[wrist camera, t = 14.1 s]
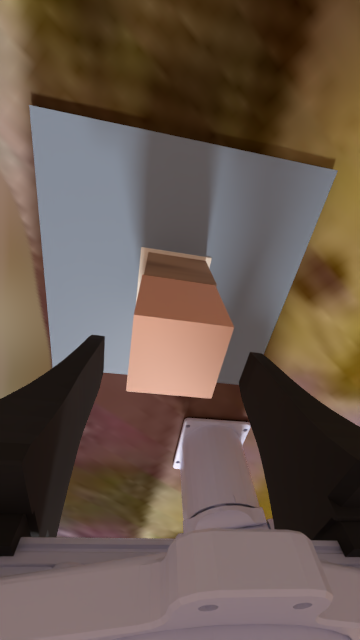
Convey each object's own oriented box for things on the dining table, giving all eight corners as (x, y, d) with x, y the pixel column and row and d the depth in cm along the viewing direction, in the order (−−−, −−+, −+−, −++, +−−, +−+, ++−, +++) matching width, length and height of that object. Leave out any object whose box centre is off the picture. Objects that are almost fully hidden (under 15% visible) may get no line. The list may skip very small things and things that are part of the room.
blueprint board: (249, 381, 28) (251, 386, 27) (55, 363, 25) (52, 368, 25) (332, 170, 18) (338, 170, 18) (33, 107, 16) (28, 104, 15)
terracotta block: (200, 344, 18) (211, 398, 14) (135, 337, 18) (126, 391, 13) (215, 285, 16) (234, 327, 12) (142, 274, 15) (133, 314, 11)
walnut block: (194, 311, 23) (201, 344, 18) (142, 304, 22) (137, 337, 18) (205, 260, 20) (216, 285, 16) (148, 251, 20) (144, 274, 15)
